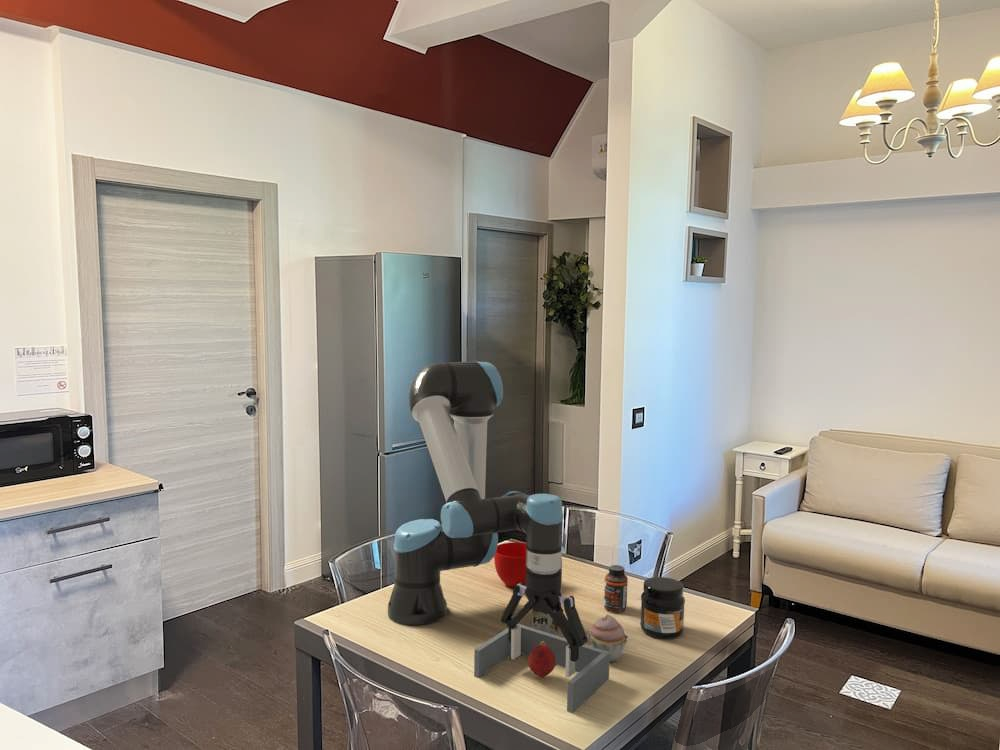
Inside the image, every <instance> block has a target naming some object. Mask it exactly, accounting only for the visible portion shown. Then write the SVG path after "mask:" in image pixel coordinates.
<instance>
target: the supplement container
mask: <svg viewBox="0 0 1000 750" xmlns="http://www.w3.org/2000/svg"><path fill="white" fill-rule="evenodd" d="M640 600H641V602H640V603H641V604H640V605H641V606H640V608H641V609H640V623H639V624H640V629H641V631H643V632H644V633H645V634H646V635H648V636H650V637H653V638H656V639H664V640H668V639H669V640H670V639H671V640H672V639H676V638H678V637H680V636H681V635H682V634H683V632H684V629H685V625H684V623H685V622H684V621H685V604H686V599H685V597H684V585H683V583H682V582H681V581H679V580H677V579H674V578H670V577H666V576H654V577H653V576H652V577H649V578H647V579H645V580H644V581H643V591H642V593H641V595H640Z"/></svg>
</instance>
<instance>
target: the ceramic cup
mask: <svg viewBox="0 0 1000 750" xmlns="http://www.w3.org/2000/svg"><path fill="white" fill-rule="evenodd" d="M493 561H494V567H495V570H496V573H497V575H498V578H500V580H501V581H502V583H504V585H505V586H506V587H509V588H514V586H516V585H517V584H519V583H523V584H524V586H525V587H527V586H526V569H527V566H526V542H521V541H520V542H518V541H516V542H515V541H514V542H513V541H511V542H504V543H500V544H498V546H497V551H496V553H495V556H494V557H493Z"/></svg>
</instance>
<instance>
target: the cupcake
mask: <svg viewBox="0 0 1000 750" xmlns="http://www.w3.org/2000/svg"><path fill="white" fill-rule="evenodd" d="M589 629H590V630H588V634H586V636H587V639H588V641H589V643H590V646H591V647H594V648H598V649H601V650H604V651H607V652H610V660H609V663H615V662H618V661H620V660H621V658H622V655H623V654H624V653H623V652H624V649H625V648H624V647H625V646H626V644H627V642H628V638H629V636H628V635H626V634H625V629H624V628H623V625H622V624H621V623H619V622H618V620H617V619H616V617H614V616H613V615H610V614H608V613H607V614H605V616H604V617H599V618H598V619H596V621H595V622H594V623H593V624H592V625H591V626H590V628H589Z"/></svg>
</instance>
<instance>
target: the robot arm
mask: <svg viewBox="0 0 1000 750" xmlns="http://www.w3.org/2000/svg"><path fill="white" fill-rule="evenodd" d="M503 398H504V387H503V382H502V377H501V375H500V373H499V371H498V369H497V367H496V366H495V365H494V364H492V363H490V362H487V361H475V360H474V361H473V360H472V361H471V360H470V361H455V362H453V361H451V362H443V361H441V362H435V363H432V364H431V363H430V364H429V365H427V366H425V367H424V368H422V369H421V370H420V371H419V372H418V374H416V376H415V377H414V379H413V381H412V383H411V386H410V389H409V395H408V403H409V404H408V405H409V409H410V413H411V415H412V418H413V420H415V421H416V422H418V423H419V425H420V428H421V431H422V435H423V438H424V441H425V444H426V446H427V449H428V452H429V456H430V458H431V461H432V464H433V467H434V469H435V472H436V476H437V478H438V482H439V484H440V487H441V491H442V493H443V495H444V496H443V497H444V499H445V502H446V503H445V504H444V505H442V507H441V509H440V521H441V523H440V521H438V520H436V519H433V518H427V519H425V518H422V519H421V518H420V519H414V520H411V521H408V522H405V523H403V524H402V525H400V526H399V527H398V528H397V529H396V531H395V535H394V544H393V549H394V584H393V585H394V586H393V588H392V591H391V594H390V597H389V598H390V599H389V600H388V604H387V616H388V618H389V619H390V620H391V621H393V622H394V623H395V622H396V623H397V624H401V625H408V626H409V625H411V626H419V625H420V626H422V625H428V624H432V623H436V622H438V621H440V620H442V619H443V618H444V617H446V615H447V613H448V609H447V608H448V607H447V606H448V605H447V600H446V598H445V597H444V593H443V591H444V590H443V589H442V584H441V572H443V571H449V570H456V569H464V568H470V567H478V566H481V565H485V564H488V563H490V562H491V560H494V556H495V553H496V551H497V546H498V545H499V533H503V532H512V531H520V532H522V533H524V534H525V536H526V537H525V538H526V540H525V541H526V542H525V543H526V566H527V569H526V586H524V584H523V583H519V584H517V585H516V586H514V588H513V587H512V588H513V590H512V594H511V595H512V596H511V597H510V600H509V601H508V604H507V606H506V608H505V609H504V611H503V613H502V616H501V618H500V622H501V624H505V625H506V627H507V628H508V634H509V635H508V639H509V641H510V642H511V656H510V659H511V660H515V659H517V658H518V657H520V656H521V654H522V653H521V626H519V625H518V626H517V624H520V623H521V621H522V620H523V619H524V618H525V617H526V616H527V615H528V614H529V613H530V612H531V611H532V608H533V609H534V611H536V612H542V613H544V614H549V615H550V617H551V618H552V619H554V620H555V622H556V624H557V625H558V627H559V628H558V630H560V632H561V633H562V635H563V638H565V639H566V640H567V642H568V643H569V645H567V646H566V668H565V677H566V678H569V679H570V677H572V676H573V675H574V674H575V673H576V671H575V661H577V660H578V658H579V647H581V646H583V645H584V644H585V645H586V644H587V643H588V641H589V639H588V637H587V633H586V630H585V628H584V626H583V623H582V621H581V618H580V616H579V614H578V611H577V608H576V601H575V600H576V599H575V597H574V595H570V596H562V588H561V576H562V577H563V570H562V571H561V570H560V569H561V567H562V568H563V559H562V558H563V555H562V554H563V552H562V551H563V548H562V547H563V525H564V524H563V523H564V522H563V521H564V512H563V501H562V499H561V498H560V496H558V495H555V494H550V493H535V494H532V495H528V494H527V493H524V492H521V491H516V490H511V491H508V492H506V493H505V494H503V495H502V496H498V497H492V498H491V497H490V498H486V478H487V477H486V475H487V473H486V469H487V443H488V442H487V441H488V438H487V437H488V421H489V420H490V419H491V417H493V416H494V408H496V407H499V405H501V403H502V400H503ZM560 590H561V592H560ZM524 595H525V596H526V598H527V602H526V603H525V604H524V605H523V606H522V607H521V609H520V610H519V611H517V613H516V614H515V612H516V610H517V607H518V606H519V604H520V601H521V600H522V598H523V596H524ZM560 603H561V605H560ZM555 609H556V610H557V612H554V610H555ZM514 614H515V615H514ZM512 617H513V618H512Z"/></svg>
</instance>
